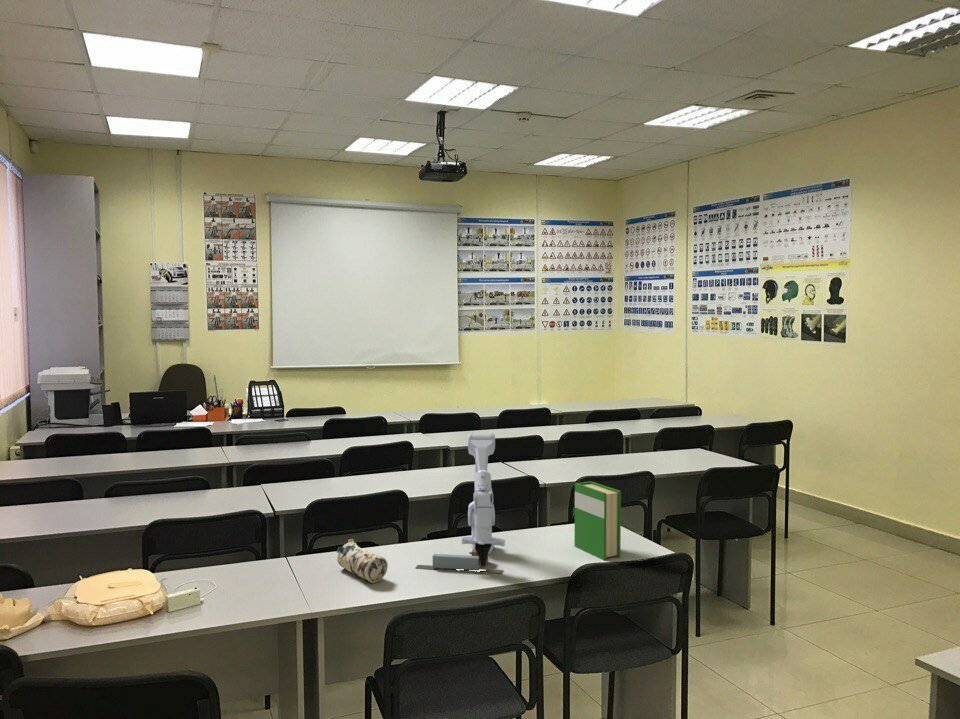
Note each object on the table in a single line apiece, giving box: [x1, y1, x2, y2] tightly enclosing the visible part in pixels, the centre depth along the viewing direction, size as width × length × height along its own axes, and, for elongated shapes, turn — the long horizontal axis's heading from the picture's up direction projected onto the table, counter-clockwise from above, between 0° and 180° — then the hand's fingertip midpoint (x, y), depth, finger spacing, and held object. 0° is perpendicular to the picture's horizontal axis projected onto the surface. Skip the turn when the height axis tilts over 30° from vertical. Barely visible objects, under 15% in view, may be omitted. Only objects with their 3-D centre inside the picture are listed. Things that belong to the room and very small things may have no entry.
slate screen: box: [432, 553, 481, 570], centre depth 246 cm, size 2×16×4 cm, turn 80°
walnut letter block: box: [471, 547, 489, 567], centre depth 252 cm, size 5×5×5 cm
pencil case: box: [336, 538, 389, 584], centre depth 241 cm, size 22×8×10 cm, turn 39°
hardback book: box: [574, 480, 622, 561], centre depth 264 cm, size 18×7×24 cm, turn 28°
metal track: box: [415, 564, 504, 575], centre depth 246 cm, size 3×30×1 cm, turn 80°
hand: (483, 565), depth 244 cm, fingers closed
